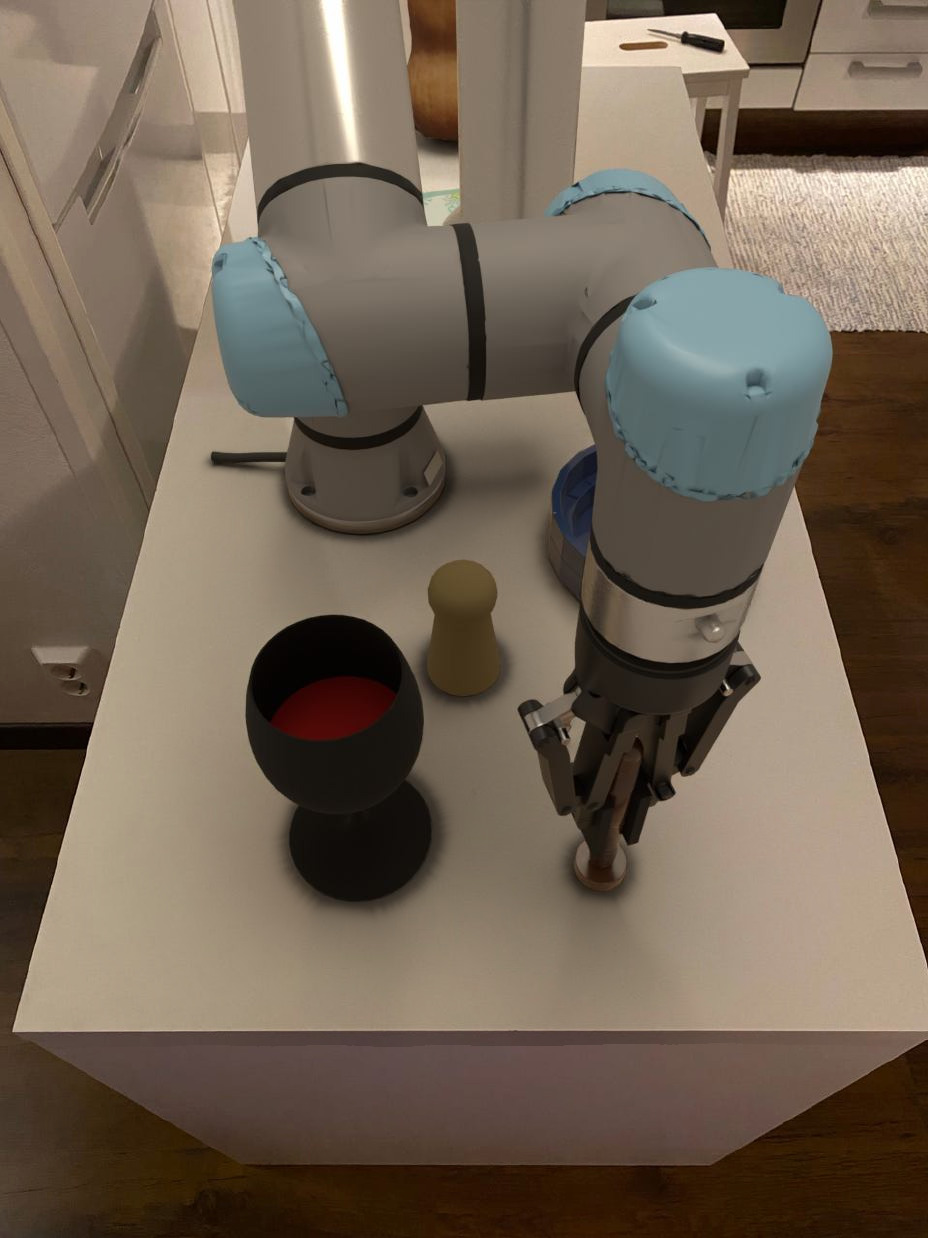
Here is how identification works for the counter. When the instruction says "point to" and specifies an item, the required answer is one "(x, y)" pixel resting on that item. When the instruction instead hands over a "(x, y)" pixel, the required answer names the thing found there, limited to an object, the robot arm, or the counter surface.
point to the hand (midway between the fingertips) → (607, 831)
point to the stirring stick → (612, 829)
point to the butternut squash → (434, 68)
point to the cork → (463, 628)
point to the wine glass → (342, 752)
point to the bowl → (572, 517)
